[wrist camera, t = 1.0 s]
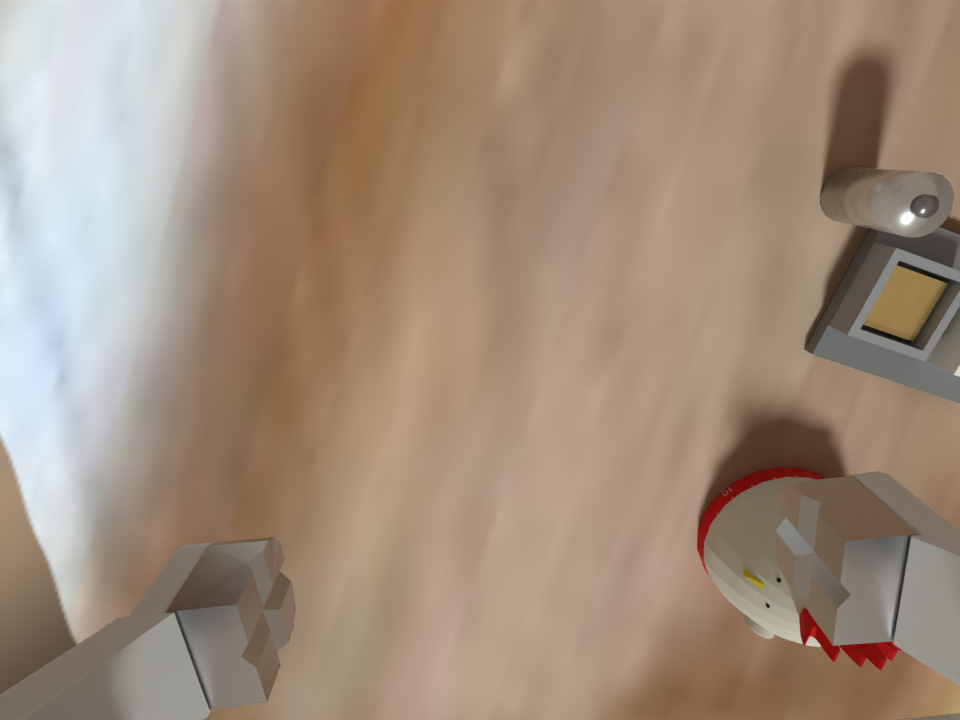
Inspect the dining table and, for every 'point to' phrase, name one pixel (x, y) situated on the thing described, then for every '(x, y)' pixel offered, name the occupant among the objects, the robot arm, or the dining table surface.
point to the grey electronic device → (920, 363)
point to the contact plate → (905, 303)
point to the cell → (888, 200)
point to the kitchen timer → (766, 564)
